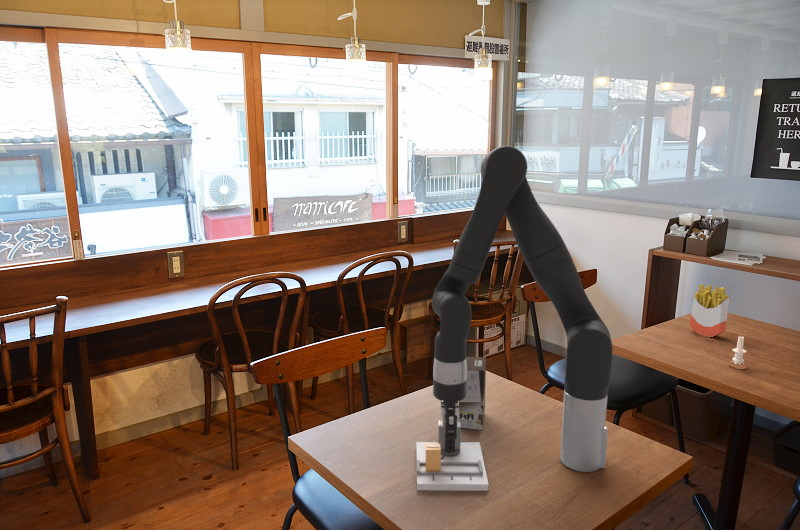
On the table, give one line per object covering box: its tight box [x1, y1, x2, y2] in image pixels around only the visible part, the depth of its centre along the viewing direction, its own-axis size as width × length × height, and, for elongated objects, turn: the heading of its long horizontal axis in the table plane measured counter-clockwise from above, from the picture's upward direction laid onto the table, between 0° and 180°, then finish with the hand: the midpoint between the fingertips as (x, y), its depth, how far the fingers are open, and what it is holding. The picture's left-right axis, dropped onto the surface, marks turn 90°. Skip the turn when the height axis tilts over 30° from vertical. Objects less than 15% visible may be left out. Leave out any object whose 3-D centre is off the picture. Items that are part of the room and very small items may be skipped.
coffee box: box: [458, 356, 487, 431], centre depth 154 cm, size 9×6×16 cm
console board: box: [415, 441, 489, 492], centre depth 135 cm, size 15×17×2 cm
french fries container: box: [689, 284, 730, 338], centre depth 215 cm, size 5×11×18 cm, turn 33°
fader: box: [426, 444, 441, 472], centre depth 131 cm, size 3×3×5 cm
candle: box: [732, 335, 747, 365], centre depth 188 cm, size 5×5×10 cm
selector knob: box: [437, 419, 462, 456], centre depth 138 cm, size 5×5×7 cm
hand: (448, 443), depth 139 cm, fingers open, 6 cm apart
